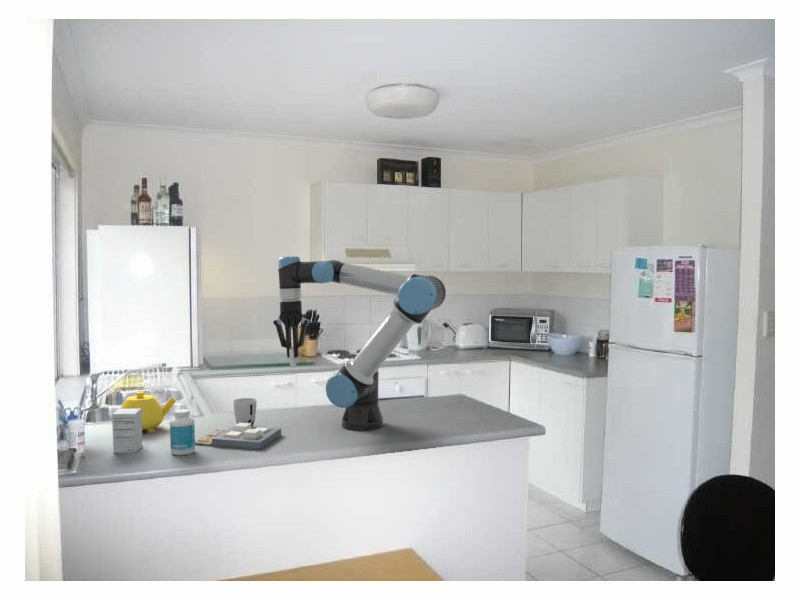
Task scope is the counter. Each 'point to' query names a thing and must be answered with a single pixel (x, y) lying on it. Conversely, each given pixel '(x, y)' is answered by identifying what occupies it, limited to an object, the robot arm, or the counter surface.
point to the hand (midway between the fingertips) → (293, 366)
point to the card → (208, 438)
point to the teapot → (148, 409)
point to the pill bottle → (182, 433)
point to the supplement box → (127, 430)
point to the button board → (246, 440)
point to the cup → (245, 410)
